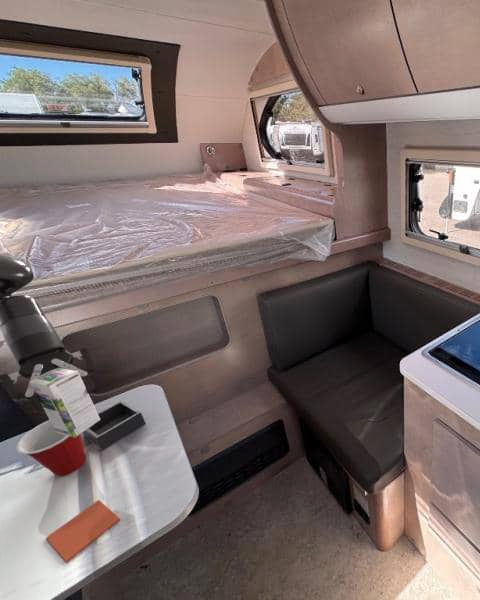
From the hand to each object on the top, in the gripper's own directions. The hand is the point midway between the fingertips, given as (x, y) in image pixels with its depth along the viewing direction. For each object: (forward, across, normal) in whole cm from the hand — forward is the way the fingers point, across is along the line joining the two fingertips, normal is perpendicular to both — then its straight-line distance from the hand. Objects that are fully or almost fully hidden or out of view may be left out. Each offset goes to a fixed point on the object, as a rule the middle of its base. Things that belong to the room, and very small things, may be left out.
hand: (67, 401), depth 71 cm
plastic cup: (+10, -5, +22) cm, 24 cm away
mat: (+25, -7, +6) cm, 27 cm away
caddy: (+6, +6, +25) cm, 27 cm away
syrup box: (+5, 0, +7) cm, 8 cm away
